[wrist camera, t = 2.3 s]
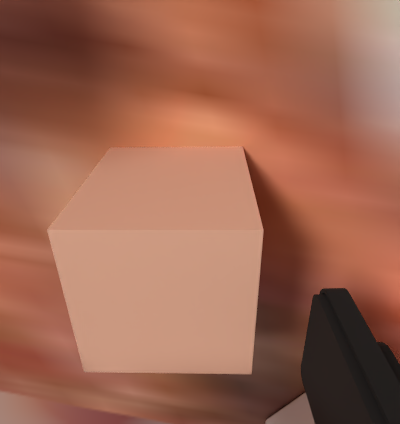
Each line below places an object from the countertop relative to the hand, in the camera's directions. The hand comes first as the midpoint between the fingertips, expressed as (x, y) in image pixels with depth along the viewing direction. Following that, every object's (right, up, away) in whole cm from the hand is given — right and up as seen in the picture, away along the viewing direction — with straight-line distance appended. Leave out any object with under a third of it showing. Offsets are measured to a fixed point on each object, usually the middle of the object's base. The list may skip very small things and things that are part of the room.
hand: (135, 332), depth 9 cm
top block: (+1, +3, +5) cm, 6 cm away
